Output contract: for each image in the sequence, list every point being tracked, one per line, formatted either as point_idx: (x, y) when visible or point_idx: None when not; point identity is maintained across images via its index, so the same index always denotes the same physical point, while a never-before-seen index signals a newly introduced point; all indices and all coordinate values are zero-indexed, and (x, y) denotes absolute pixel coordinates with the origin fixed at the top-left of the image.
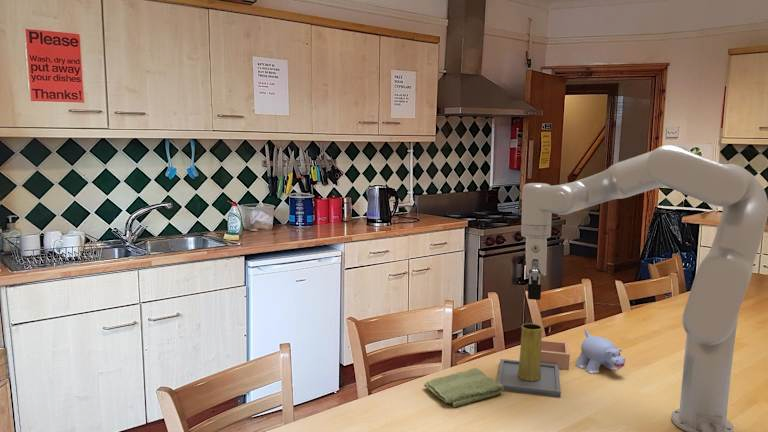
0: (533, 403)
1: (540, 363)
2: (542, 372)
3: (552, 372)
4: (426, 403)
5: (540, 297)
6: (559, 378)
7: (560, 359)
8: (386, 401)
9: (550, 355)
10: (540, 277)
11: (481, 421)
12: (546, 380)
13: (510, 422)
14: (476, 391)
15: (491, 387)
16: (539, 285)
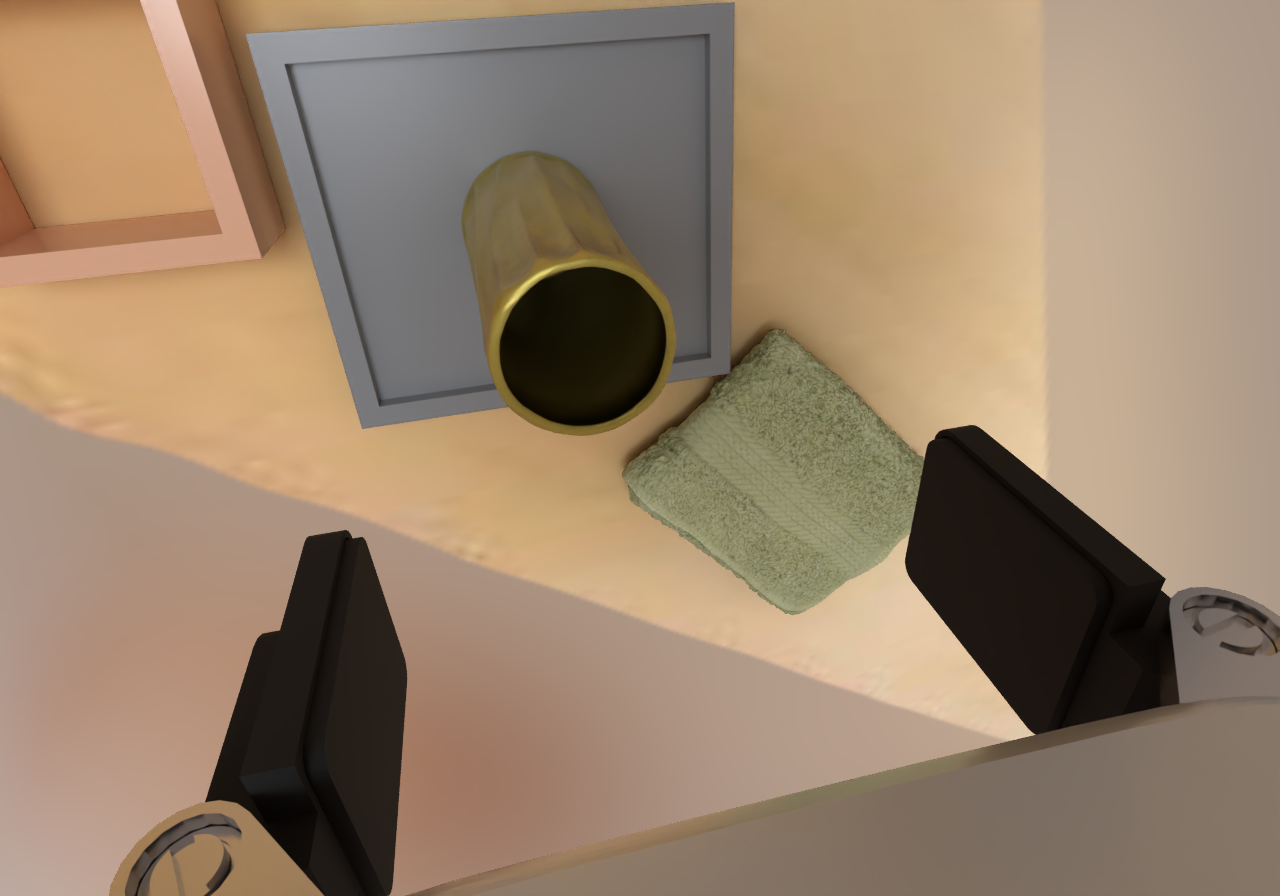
0: (827, 161)
1: (548, 177)
2: (418, 148)
3: (385, 75)
4: (897, 555)
5: (990, 438)
6: (517, 16)
7: (197, 16)
8: (900, 652)
9: (222, 111)
10: (306, 733)
11: (1015, 352)
12: (544, 110)
13: (1019, 242)
14: (881, 433)
15: (837, 386)
16: (1138, 589)
